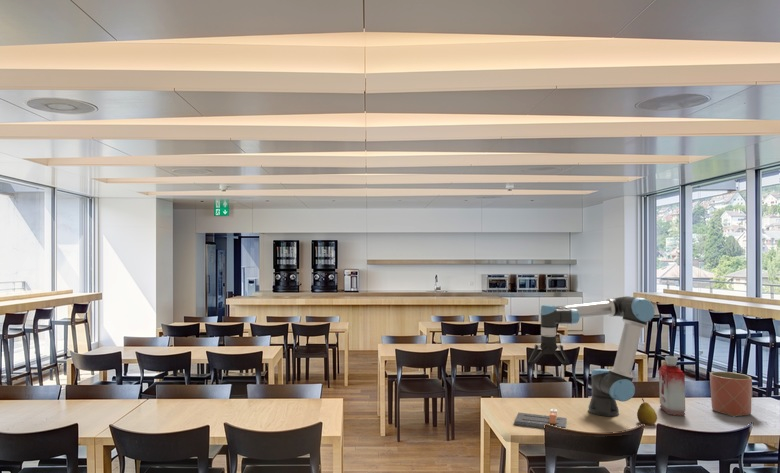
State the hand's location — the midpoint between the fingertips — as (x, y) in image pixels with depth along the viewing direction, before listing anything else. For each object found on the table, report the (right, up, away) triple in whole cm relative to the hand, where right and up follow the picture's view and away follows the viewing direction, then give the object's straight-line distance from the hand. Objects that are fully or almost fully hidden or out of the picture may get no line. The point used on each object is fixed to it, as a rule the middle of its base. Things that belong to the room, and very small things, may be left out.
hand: (549, 377), depth 256 cm
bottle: (+73, -24, +18) cm, 79 cm away
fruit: (+49, -23, -2) cm, 54 cm away
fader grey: (+2, -20, -1) cm, 20 cm away
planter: (+105, -24, +18) cm, 110 cm away
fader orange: (-1, -20, -8) cm, 21 cm away
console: (-5, -22, -3) cm, 23 cm away
